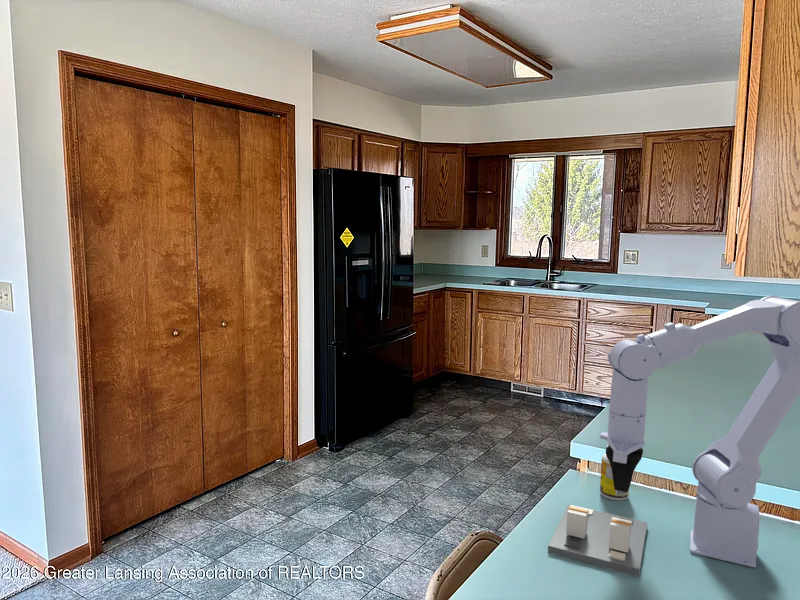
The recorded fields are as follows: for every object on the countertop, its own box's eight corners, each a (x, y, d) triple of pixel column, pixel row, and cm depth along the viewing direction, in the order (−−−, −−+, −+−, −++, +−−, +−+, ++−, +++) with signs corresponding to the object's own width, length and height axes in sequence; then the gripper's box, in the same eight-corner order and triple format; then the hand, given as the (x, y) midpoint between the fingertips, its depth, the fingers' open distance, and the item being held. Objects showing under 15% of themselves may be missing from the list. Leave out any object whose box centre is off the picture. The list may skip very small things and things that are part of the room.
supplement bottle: (604, 487, 122) (608, 440, 121) (632, 495, 118) (635, 446, 117) (595, 496, 118) (598, 447, 116) (623, 504, 114) (626, 454, 113)
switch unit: (646, 528, 105) (647, 521, 104) (638, 576, 90) (639, 568, 89) (567, 510, 111) (568, 503, 111) (547, 552, 96) (548, 544, 96)
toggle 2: (629, 544, 96) (631, 520, 96) (628, 552, 93) (629, 527, 93) (610, 539, 97) (612, 515, 97) (608, 547, 95) (610, 523, 94)
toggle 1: (587, 530, 100) (588, 507, 100) (584, 538, 97) (585, 514, 97) (569, 526, 101) (570, 503, 101) (566, 534, 99) (567, 510, 98)
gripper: (608, 398, 105) (603, 470, 107) (595, 419, 92) (590, 500, 94) (650, 404, 102) (644, 478, 104) (643, 427, 89) (636, 511, 91)
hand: (621, 489), depth 99 cm, fingers closed
